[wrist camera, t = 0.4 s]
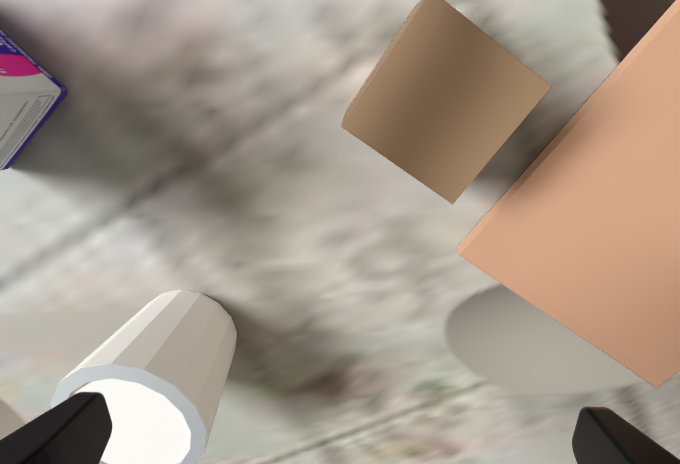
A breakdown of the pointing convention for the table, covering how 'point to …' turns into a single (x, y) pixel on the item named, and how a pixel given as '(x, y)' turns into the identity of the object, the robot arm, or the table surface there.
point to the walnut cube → (442, 99)
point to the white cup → (160, 379)
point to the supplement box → (23, 99)
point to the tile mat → (603, 215)
